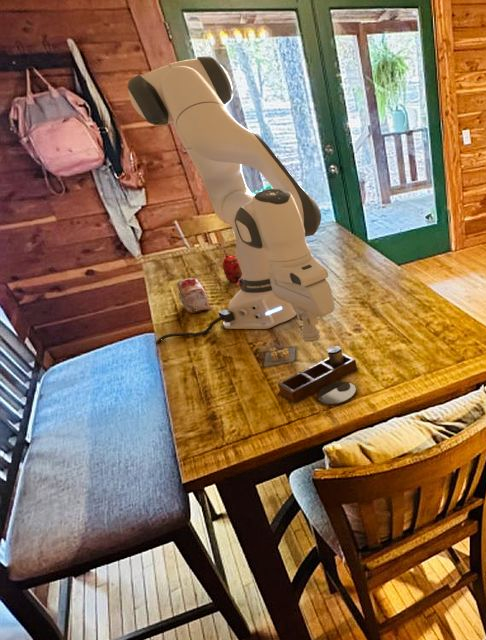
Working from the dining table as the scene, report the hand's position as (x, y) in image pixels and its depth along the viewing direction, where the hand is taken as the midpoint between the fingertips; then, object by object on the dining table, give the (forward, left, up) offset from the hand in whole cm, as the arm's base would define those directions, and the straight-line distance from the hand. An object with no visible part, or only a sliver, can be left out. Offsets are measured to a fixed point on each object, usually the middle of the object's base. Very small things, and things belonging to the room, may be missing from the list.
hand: (308, 322), depth 116 cm
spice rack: (-1, -1, -16) cm, 16 cm away
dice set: (-15, +13, -17) cm, 26 cm away
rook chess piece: (0, 0, -4) cm, 4 cm away
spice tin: (+3, +4, -16) cm, 17 cm away
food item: (-54, +52, -17) cm, 77 cm away
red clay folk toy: (-49, +76, -17) cm, 92 cm away
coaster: (+4, -7, -16) cm, 18 cm away
